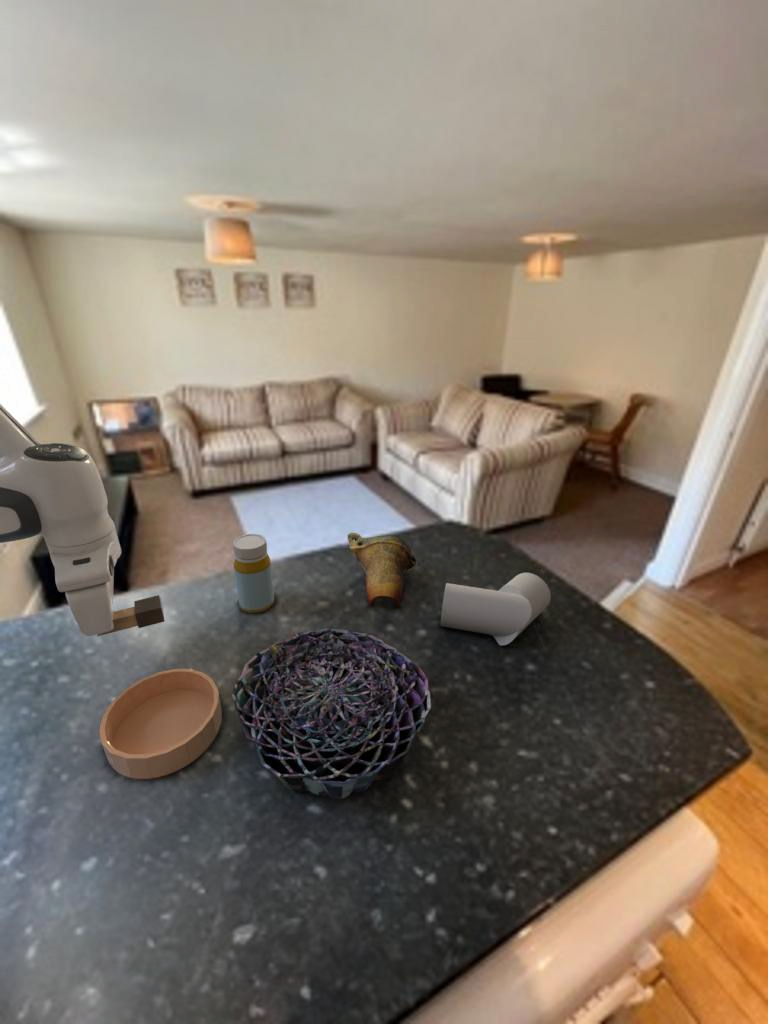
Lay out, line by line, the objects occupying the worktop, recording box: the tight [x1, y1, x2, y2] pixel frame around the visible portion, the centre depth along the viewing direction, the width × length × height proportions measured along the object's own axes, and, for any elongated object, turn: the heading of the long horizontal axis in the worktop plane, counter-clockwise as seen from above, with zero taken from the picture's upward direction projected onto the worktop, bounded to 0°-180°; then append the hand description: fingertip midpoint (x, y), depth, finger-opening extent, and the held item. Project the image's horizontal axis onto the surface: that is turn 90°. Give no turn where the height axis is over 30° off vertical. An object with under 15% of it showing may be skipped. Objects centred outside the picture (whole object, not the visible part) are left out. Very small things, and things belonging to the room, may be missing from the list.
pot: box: [347, 532, 418, 608], centre depth 98 cm, size 17×11×18 cm
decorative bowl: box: [231, 627, 432, 800], centre depth 64 cm, size 26×28×10 cm
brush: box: [96, 594, 166, 637], centre depth 75 cm, size 10×4×3 cm, turn 118°
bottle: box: [232, 533, 275, 614], centre depth 89 cm, size 7×7×15 cm
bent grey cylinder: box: [440, 572, 552, 646], centre depth 87 cm, size 18×11×20 cm
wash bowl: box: [98, 668, 223, 780], centre depth 64 cm, size 15×15×4 cm
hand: (108, 621), depth 74 cm, fingers closed on brush, 2 cm apart
